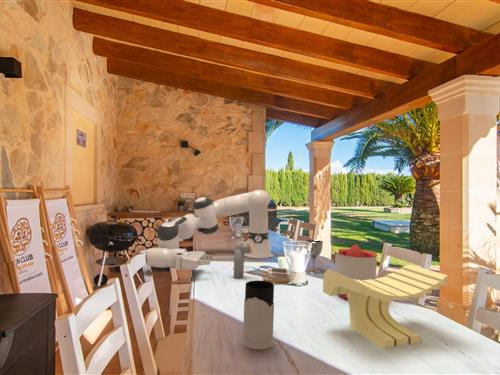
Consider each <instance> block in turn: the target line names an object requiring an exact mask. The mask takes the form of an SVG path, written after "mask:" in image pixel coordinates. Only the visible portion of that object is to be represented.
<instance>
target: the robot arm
mask: <svg viewBox="0 0 500 375" xmlns="http://www.w3.org/2000/svg"><path fill="white" fill-rule="evenodd" d="M270 202H271V196H270V194H269V193H268V192H267V191H266V190H265V189H264V190H263V189H255V190H252V191H250V192H244V193H239V194H236V195H232V196H227V197H223V198H220V199H216V200H215V201H214V200H213V199H211V198H210V197H206V196H205V197H204V196H203V197H202V196H201V197H198V198H197V199H195V200H194V201H193V204H192V207H193V208H192V209H193V210H194V211H193V212H194V213H187V214H185V215H183V216H175V217H174V218H172V219H170V220H168V221H166V222H163V223H160V225H159V226H157V228H156V236H157V247H152V248H147V249H146V252H145V256H144V257H145V263H146V266H148V267H151V268H159V269H165V268H171V269H174V270H175V271H182V270H196V269H198V268H199V266H207V265H210V264H211V261H213V260H214V258H215V257H214V255H212V254H211V255H210V254H207V253H206V252H205V251H203V250H202V251H201V250H200V251H199V250H196V251H195V250H192V251H187V248H180V240H188V239H190V238H192V236H194V234H195V233H196V231H198V233H201V234H204V235H212V234H214V233H215V232H217V231H218V230H219V222H218V218H223V217H229V216H233V215H238V214H243V213H247V212H248V215H249V222H248V224H249V225H248V226H249V228H248V232H247V239H246V240H245V242H244V243H245V244H252V254H245V253H244V257H246V258H251V259H269V258H274V254H273V253H272V252H271V251H272V250H271V246H272V244H271V241H270V240H269V211H268V206H269V204H270Z"/></svg>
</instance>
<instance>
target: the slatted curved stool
mask: <svg viewBox="0 0 500 375" xmlns="http://www.w3.org/2000/svg"><path fill="white" fill-rule="evenodd" d="M448 278H449V276H448V275H447V274H444V273H441V272H439V271H438V272H437V271H433V270H431V269H427V268H423V267H420V266H417V265H414V264H408V265H402V267H401V268H400V269H396V270H394V271H393V272H390V273H387V274H386V275H385V276H382V277H378V278H377V277H376V279H374V280H372V279H370V280H361V281H360V280H355V279H351V278H349V277H346V276H344V275H342V274H340V273H337V272H335V270H333V269H330V268H329V269H326V270H325V271H324V274H323V281H322V282H323V283H322V284H323V285H322V292H323V293H324V294H326V295H328V296H330V297H334V296H337V295H339V294H346V293H347V298H348V299H347V301H348V306H349V322H350V327H351V328H352V329H353V330H355V331H356V332H357V333H359V334H361V335H362V336H363V337H365V338H367V339H368V340H370V341H371V342H373V343H374V344H375V345H377V346H379V347H380V348H381V349H387V348H393V347H401V346H405V345H407V346H408V345H409V344H411V345H414V344H420V343H422V340H421V337H420V335H418V334H417V333H415V332H413V331H411V330H409V329H408V328H407V327H405V326H403V325H401V324H400V323H399V322H397V320H395V319H394V318H393V317H392V315H391V314H390V310H389V307H390V303H391V301H396V300H398V301H403V300H410V299H424V297H425V296H424V295H430V294H433V293H432V292H433V291H435V290H436V291H438V290H440V288H441V287H440V286H442V287H446V286H448ZM338 293H339V294H338Z"/></svg>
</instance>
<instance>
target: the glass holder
mask: <svg viewBox="0 0 500 375" xmlns="http://www.w3.org/2000/svg"><path fill="white" fill-rule="evenodd" d="M274 290H275V284H273V283H271V282H268V281H263V280H250V281H246V283H245V290H244V294H245V296H244V302H243V303H244V305H243V329H242V337H241V339H240V342H241V345H243V346H244V347H246V348H247V349H251V350H266V349H270V348H271V347H273V346H274V345H275V339H274V315H275V314H274V313H275V303H274V299H275V298H274V296H275V294H274V293H275V291H274Z"/></svg>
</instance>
